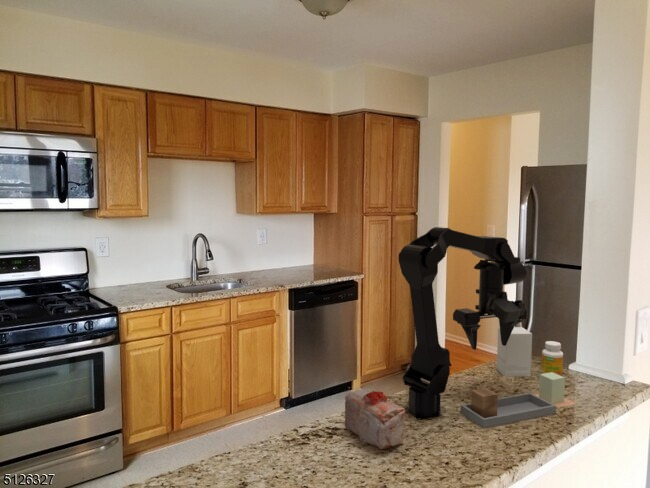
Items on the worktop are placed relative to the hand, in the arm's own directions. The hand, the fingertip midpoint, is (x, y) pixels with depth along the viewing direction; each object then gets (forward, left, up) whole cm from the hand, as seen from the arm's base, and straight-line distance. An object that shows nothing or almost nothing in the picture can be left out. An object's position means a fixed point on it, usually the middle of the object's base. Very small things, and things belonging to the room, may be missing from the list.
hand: (489, 347), depth 127 cm
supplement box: (+16, +9, -12) cm, 22 cm away
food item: (-38, -11, -12) cm, 41 cm away
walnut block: (-11, -13, -11) cm, 20 cm away
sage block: (+11, -10, -11) cm, 19 cm away
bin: (-4, -13, -12) cm, 18 cm away
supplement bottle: (+24, +3, -12) cm, 27 cm away
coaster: (+11, -10, -12) cm, 19 cm away
